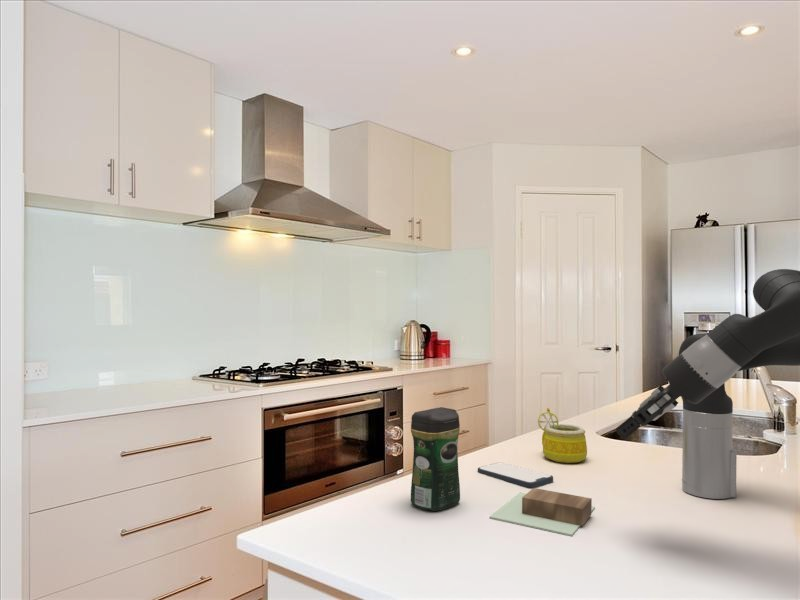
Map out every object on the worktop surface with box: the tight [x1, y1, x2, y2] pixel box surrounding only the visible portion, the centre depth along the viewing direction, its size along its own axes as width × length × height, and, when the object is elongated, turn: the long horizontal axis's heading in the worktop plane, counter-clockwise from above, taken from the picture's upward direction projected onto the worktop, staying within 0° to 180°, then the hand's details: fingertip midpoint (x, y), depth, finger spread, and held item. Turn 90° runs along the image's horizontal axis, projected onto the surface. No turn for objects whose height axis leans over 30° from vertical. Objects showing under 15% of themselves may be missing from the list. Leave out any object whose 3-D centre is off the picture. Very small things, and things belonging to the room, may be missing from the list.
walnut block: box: [522, 487, 593, 527], centre depth 108 cm, size 3×6×11 cm
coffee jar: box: [410, 406, 461, 512], centre depth 114 cm, size 10×8×19 cm
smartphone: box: [477, 462, 554, 490], centre depth 132 cm, size 9×2×16 cm
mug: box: [537, 407, 588, 464], centre depth 148 cm, size 13×11×12 cm
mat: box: [489, 492, 596, 537], centre depth 109 cm, size 15×16×1 cm
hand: (620, 433), depth 101 cm, fingers closed
